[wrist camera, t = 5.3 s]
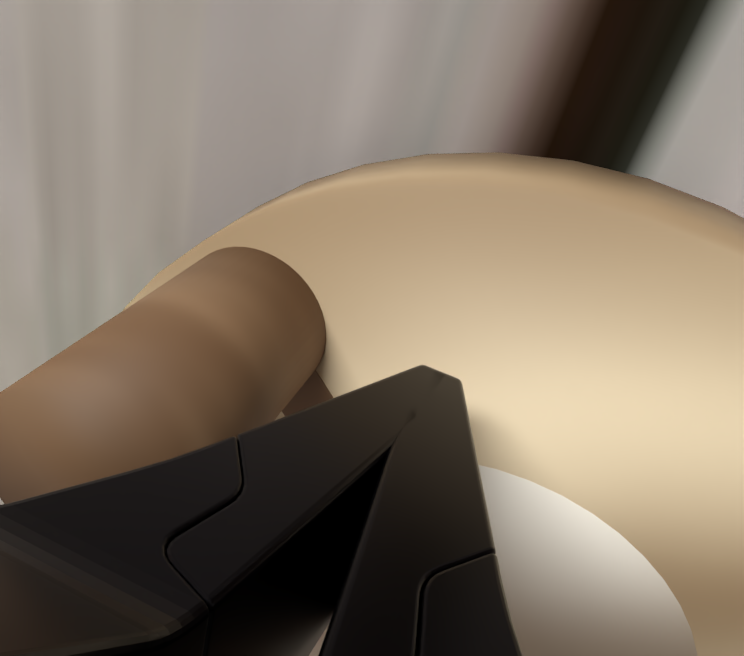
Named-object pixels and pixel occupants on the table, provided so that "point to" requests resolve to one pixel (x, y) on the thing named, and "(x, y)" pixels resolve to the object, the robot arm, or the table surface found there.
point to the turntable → (462, 373)
